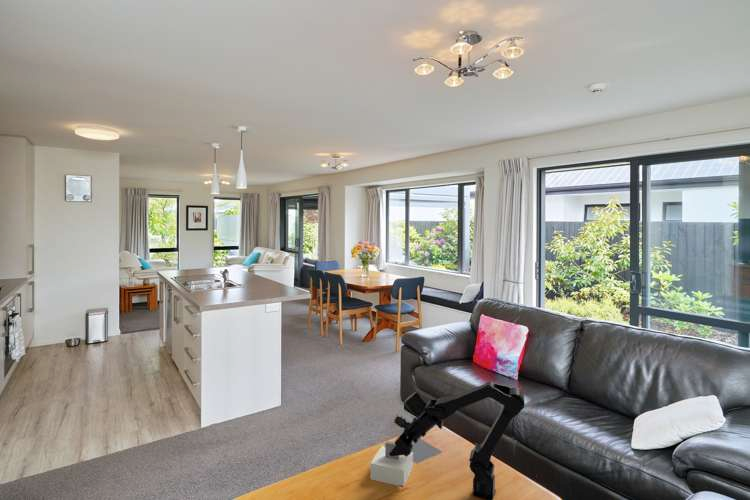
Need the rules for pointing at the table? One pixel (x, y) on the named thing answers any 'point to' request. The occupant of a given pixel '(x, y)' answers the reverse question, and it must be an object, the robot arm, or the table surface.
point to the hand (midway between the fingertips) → (393, 448)
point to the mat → (423, 451)
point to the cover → (391, 466)
